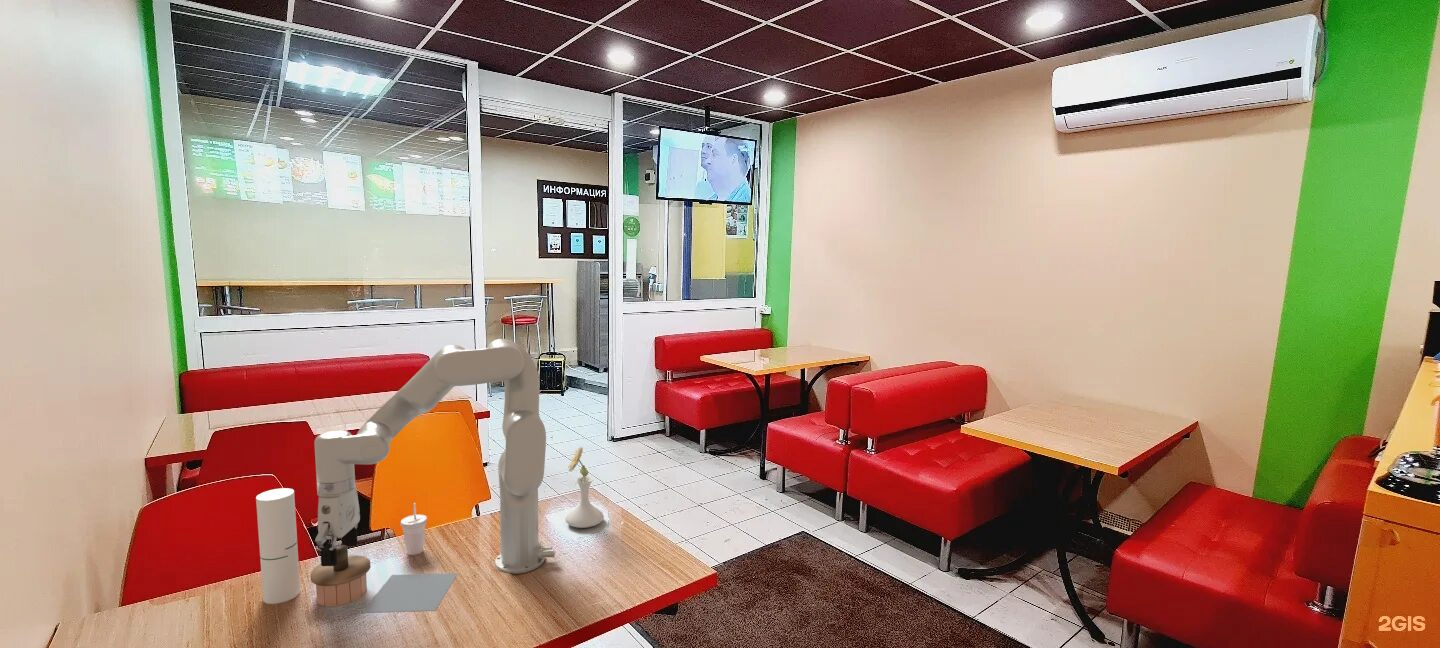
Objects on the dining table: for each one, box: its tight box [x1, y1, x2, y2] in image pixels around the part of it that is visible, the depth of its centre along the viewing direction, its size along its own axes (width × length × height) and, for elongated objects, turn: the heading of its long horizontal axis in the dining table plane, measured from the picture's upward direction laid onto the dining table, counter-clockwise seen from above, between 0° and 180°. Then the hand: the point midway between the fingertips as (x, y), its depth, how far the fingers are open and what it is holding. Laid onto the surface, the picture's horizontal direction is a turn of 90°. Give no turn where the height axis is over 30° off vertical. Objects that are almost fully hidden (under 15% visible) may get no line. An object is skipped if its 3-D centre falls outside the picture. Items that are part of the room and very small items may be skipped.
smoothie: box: [400, 502, 428, 556], centre depth 165 cm, size 6×6×14 cm
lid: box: [310, 544, 371, 586], centre depth 144 cm, size 12×12×6 cm
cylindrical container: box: [255, 487, 301, 605], centre depth 144 cm, size 7×7×25 cm
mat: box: [361, 572, 459, 614], centre depth 147 cm, size 16×16×1 cm
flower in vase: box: [565, 446, 605, 529], centre depth 185 cm, size 13×11×25 cm
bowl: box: [315, 573, 368, 607], centre depth 145 cm, size 10×10×6 cm
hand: (340, 555), depth 144 cm, fingers open, 9 cm apart
